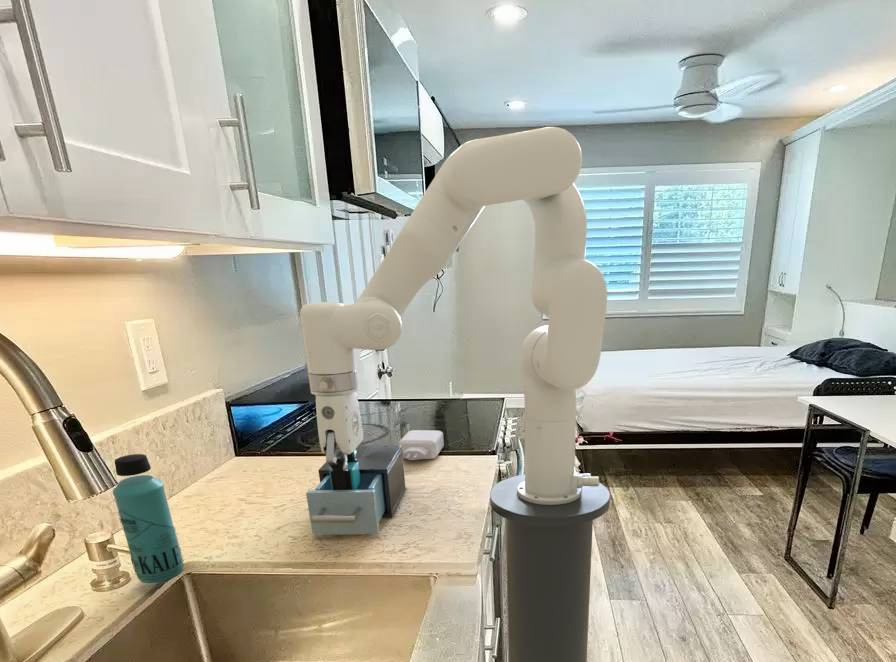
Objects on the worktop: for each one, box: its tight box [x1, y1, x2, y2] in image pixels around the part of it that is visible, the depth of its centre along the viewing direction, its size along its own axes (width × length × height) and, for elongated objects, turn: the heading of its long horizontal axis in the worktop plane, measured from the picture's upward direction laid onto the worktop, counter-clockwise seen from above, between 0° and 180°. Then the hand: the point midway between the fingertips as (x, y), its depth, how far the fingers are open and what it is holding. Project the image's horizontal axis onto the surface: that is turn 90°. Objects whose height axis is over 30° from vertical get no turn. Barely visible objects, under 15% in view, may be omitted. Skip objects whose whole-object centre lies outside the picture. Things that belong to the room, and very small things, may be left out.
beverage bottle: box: [112, 453, 185, 584], centre depth 83 cm, size 6×7×20 cm
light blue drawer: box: [305, 473, 387, 536], centre depth 101 cm, size 18×11×8 cm, turn 178°
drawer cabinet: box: [317, 444, 407, 519], centre depth 111 cm, size 15×13×10 cm
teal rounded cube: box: [329, 462, 361, 490], centre depth 99 cm, size 4×4×4 cm
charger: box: [397, 429, 445, 461], centre depth 138 cm, size 5×9×15 cm
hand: (346, 485), depth 100 cm, fingers closed on teal rounded cube, 4 cm apart
